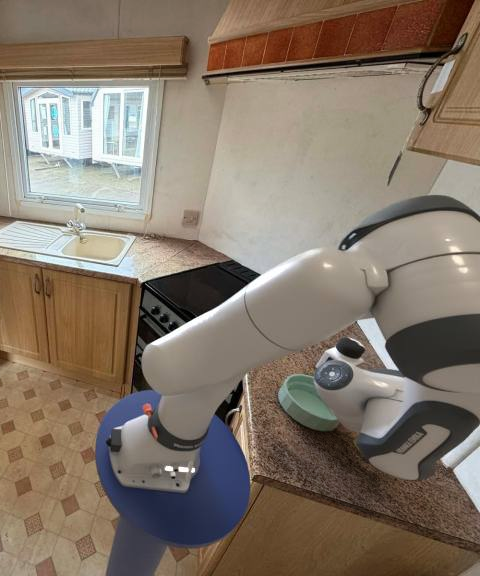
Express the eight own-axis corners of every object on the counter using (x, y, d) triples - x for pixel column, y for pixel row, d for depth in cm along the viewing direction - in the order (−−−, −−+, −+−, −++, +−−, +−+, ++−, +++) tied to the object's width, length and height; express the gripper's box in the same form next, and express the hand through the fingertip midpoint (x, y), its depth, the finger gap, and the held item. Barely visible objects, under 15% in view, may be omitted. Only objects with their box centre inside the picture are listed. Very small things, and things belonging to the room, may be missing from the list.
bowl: (300, 434, 81) (309, 422, 78) (266, 387, 93) (273, 375, 90) (351, 430, 83) (362, 417, 80) (311, 385, 95) (319, 372, 92)
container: (338, 384, 96) (360, 354, 89) (314, 367, 102) (333, 337, 95) (352, 377, 99) (374, 347, 92) (328, 360, 105) (347, 331, 98)
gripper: (414, 450, 58) (430, 477, 64) (340, 369, 76) (357, 396, 81) (378, 462, 61) (397, 488, 66) (314, 381, 78) (333, 406, 84)
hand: (375, 436), depth 74 cm, fingers open, 8 cm apart
